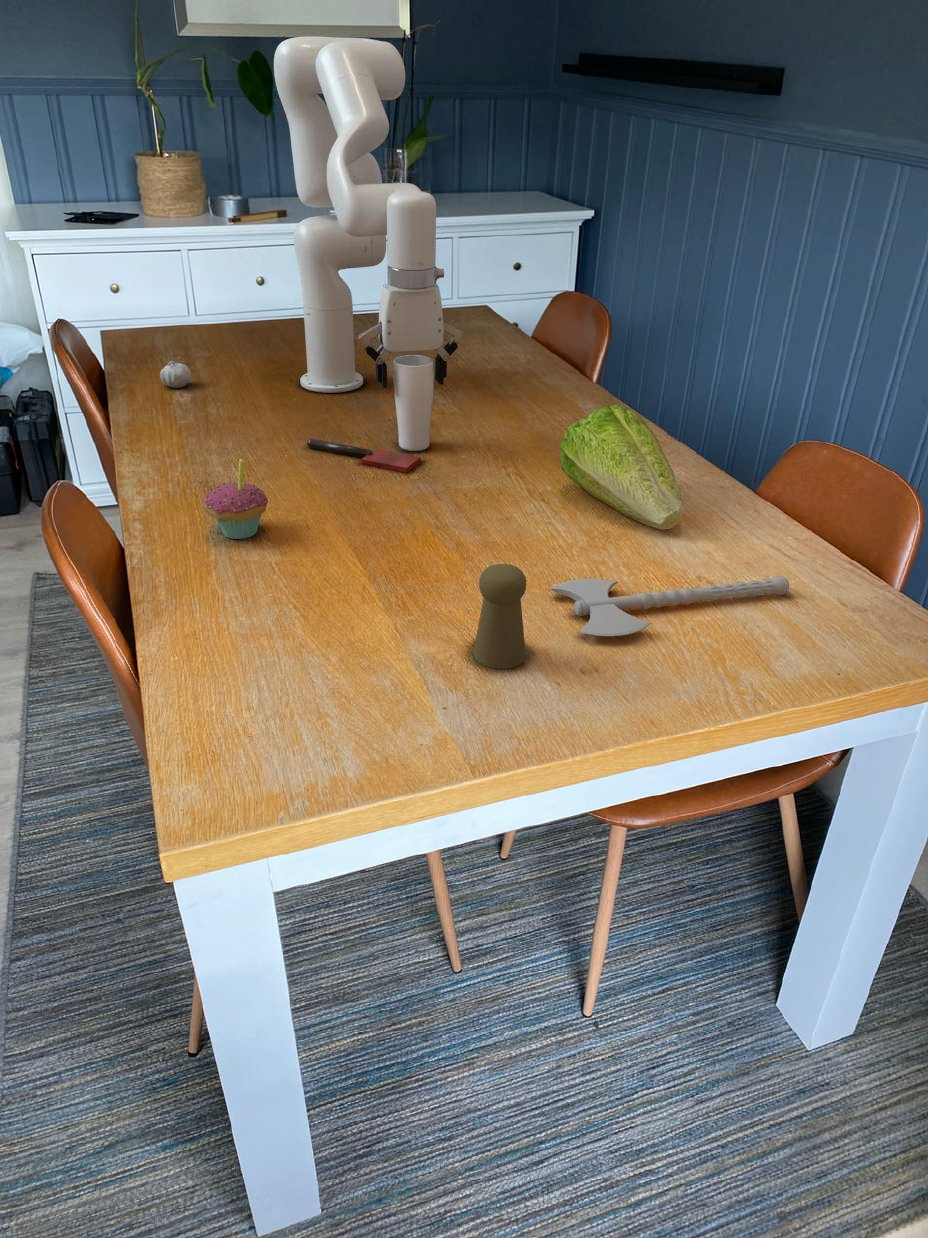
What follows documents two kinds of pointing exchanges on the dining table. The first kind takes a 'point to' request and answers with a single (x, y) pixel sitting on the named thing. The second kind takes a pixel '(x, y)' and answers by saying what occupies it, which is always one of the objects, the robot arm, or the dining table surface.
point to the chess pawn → (501, 617)
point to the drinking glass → (413, 400)
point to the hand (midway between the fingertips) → (411, 383)
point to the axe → (648, 601)
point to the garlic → (175, 375)
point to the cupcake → (236, 507)
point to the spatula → (370, 455)
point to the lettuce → (622, 466)
